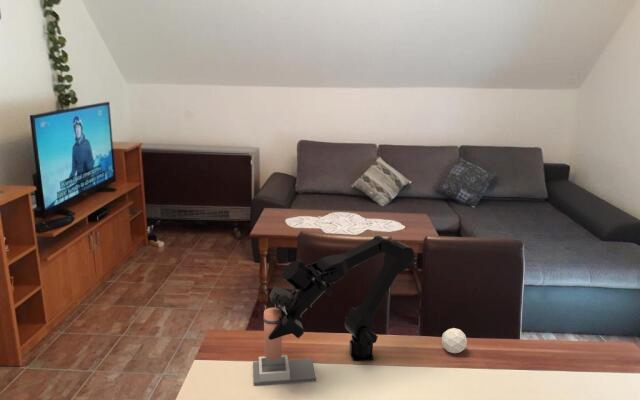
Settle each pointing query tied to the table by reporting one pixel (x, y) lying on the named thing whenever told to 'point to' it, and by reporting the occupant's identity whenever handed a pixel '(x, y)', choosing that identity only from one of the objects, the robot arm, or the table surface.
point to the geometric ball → (454, 340)
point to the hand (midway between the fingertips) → (268, 333)
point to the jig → (283, 371)
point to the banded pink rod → (270, 322)
